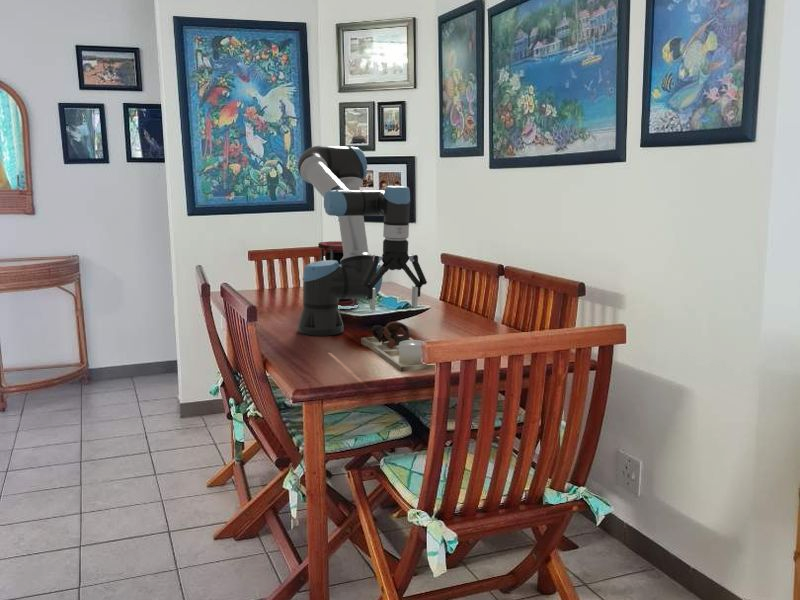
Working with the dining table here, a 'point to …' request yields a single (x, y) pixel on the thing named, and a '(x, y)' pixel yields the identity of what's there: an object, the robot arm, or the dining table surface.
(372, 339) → the tray
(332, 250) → the hourglass
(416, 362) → the grey short cylinder
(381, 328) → the dark brown looped part
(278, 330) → the dining table surface
